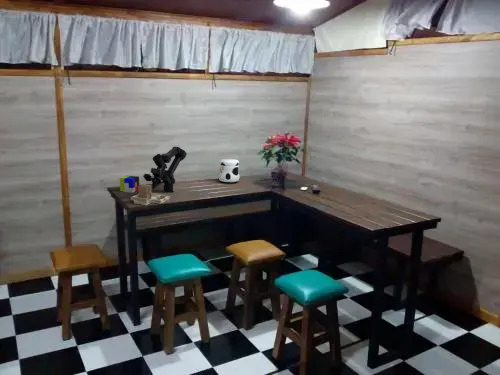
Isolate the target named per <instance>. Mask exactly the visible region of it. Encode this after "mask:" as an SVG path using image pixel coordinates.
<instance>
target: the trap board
mask: <svg viewBox="0 0 500 375" xmlns="http://www.w3.org/2000/svg"><path fill="white" fill-rule="evenodd" d="M170 199H171V196H170V195H165V194H164V193H157V192H151V199H149V200H147V198H139V193H137V194H135V195H133V196H130V201H133V204H135V205H142V206H143V205H144V206H147V205H149V204H152V203H153V204H159V205H160V204H163V203H164V202H167V201H169V200H170Z"/></svg>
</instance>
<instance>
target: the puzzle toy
mask: <svg viewBox="0 0 500 375" xmlns="http://www.w3.org/2000/svg"><path fill="white" fill-rule="evenodd" d="M138 186H140V176H139V175H138V176H137V175H124V176H122V177H119V192H120V191H123V193H133V194H134V193H135V191H136V192H137V191H138V192H139V189H138Z"/></svg>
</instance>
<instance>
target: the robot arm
mask: <svg viewBox="0 0 500 375" xmlns="http://www.w3.org/2000/svg"><path fill="white" fill-rule="evenodd" d="M186 157H187V151H186V150H184V149H183V148H181V147H180V146H172V147H171V149H170V150H169V151H167V152H166V153H161V154H160V153H157V154H156V155H154V156H153V157H152V161H153V163H154V164H155V166H156V168H155V167H151V168H150V173H151V174H150V173H144V174H143V176H142V177H143V179H144V180H145V181H146V182H151V190H154V189H156V188H158V186H160V185H162V184H163V185H162V190H163V192H164V193H174V192H175V191H174V185H175V184H176V179H175V176H174V173H175V172H176V169H178V166H179V164H180V162H181V161H184V160H185V159H186ZM172 158H173V160H172ZM169 163H170V165H169V167H168V165H167V164H169Z"/></svg>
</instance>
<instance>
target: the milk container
mask: <svg viewBox="0 0 500 375" xmlns="http://www.w3.org/2000/svg"><path fill="white" fill-rule="evenodd" d="M239 165H240V161H239V160H238V159H235V158H224V159H223V158H221V159H220V160H219V172H218V181H219V182H221V183H226V184H227V183H228V184H234V183H237V182H239V181H240V177H241V176H240V172H239V169H240V166H239Z"/></svg>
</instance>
